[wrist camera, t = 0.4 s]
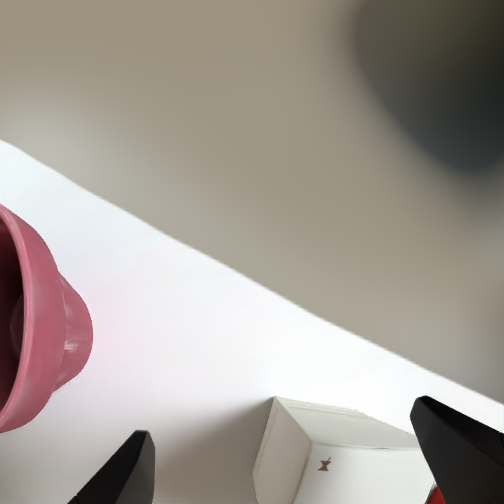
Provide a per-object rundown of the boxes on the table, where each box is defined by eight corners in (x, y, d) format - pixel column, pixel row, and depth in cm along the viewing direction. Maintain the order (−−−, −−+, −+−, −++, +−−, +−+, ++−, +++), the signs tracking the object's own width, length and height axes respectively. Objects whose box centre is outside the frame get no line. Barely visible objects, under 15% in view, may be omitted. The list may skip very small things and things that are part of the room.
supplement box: (249, 474, 21) (261, 565, 9) (273, 393, 23) (311, 436, 11) (334, 486, 20) (398, 561, 8) (359, 408, 23) (451, 445, 11)
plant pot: (96, 439, 21) (8, 488, 8) (-13, 367, 21) (-107, 359, 9) (145, 285, 25) (72, 229, 13) (27, 236, 25) (-56, 176, 13)
